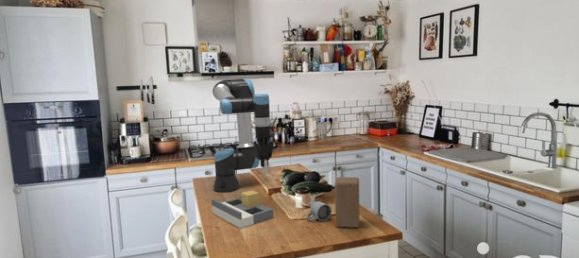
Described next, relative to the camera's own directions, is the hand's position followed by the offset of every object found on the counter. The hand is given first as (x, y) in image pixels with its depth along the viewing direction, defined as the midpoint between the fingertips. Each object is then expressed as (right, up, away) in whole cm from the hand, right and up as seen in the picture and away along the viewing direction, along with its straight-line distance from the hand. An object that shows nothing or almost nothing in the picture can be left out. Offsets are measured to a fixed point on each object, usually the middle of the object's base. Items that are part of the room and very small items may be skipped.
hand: (265, 172), depth 191 cm
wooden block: (+38, -20, -21) cm, 48 cm away
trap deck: (-11, -20, -6) cm, 23 cm away
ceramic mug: (+25, -20, -14) cm, 35 cm away
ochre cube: (-7, -15, -4) cm, 17 cm away
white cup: (+22, -17, +5) cm, 28 cm away
